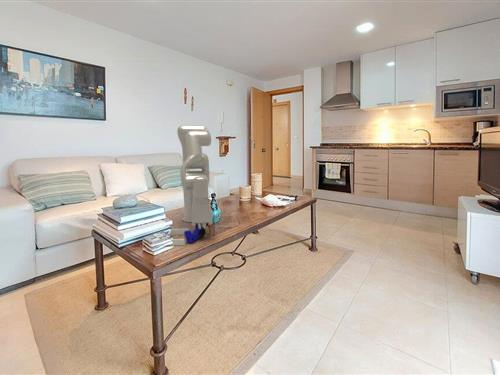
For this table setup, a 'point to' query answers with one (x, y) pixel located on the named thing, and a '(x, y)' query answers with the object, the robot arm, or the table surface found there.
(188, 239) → the cable clip
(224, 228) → the table surface
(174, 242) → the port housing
